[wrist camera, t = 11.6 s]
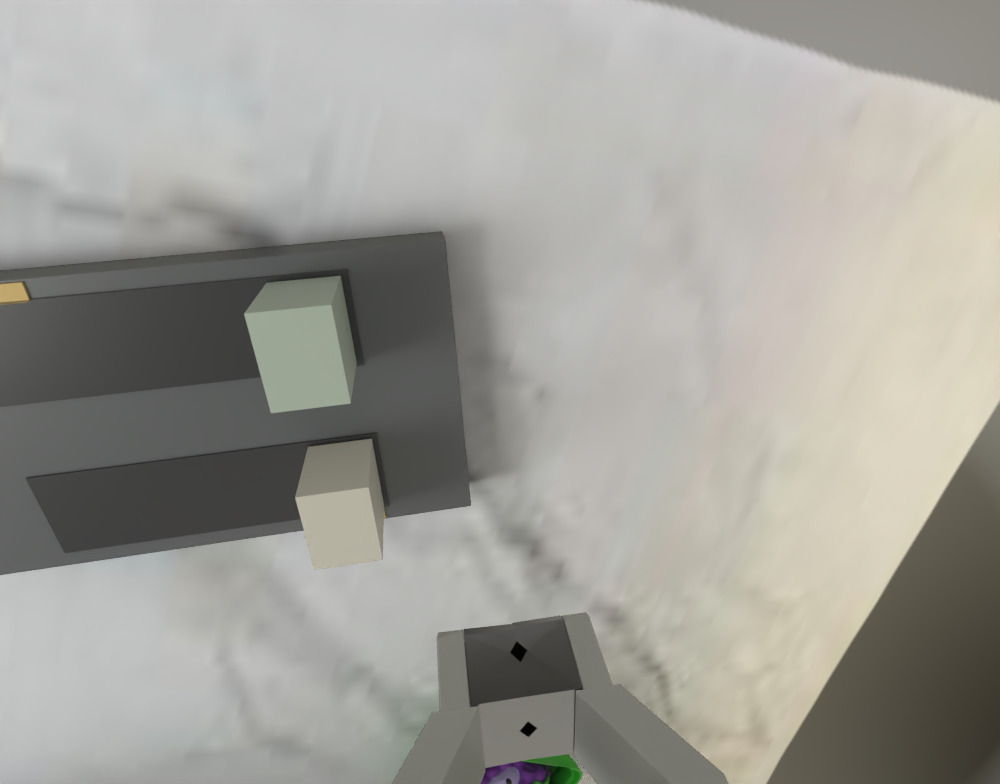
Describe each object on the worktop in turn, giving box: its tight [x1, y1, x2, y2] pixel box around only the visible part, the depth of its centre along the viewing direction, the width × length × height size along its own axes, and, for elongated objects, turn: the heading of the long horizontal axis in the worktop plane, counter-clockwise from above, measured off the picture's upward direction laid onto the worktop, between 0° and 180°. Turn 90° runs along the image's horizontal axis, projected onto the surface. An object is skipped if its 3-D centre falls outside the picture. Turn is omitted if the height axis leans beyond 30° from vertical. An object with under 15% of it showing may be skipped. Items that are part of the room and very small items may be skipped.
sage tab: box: [244, 276, 357, 413], centre depth 23 cm, size 3×4×4 cm
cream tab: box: [295, 439, 384, 570], centre depth 27 cm, size 3×4×4 cm
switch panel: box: [0, 232, 471, 575], centre depth 27 cm, size 24×14×2 cm, turn 93°
